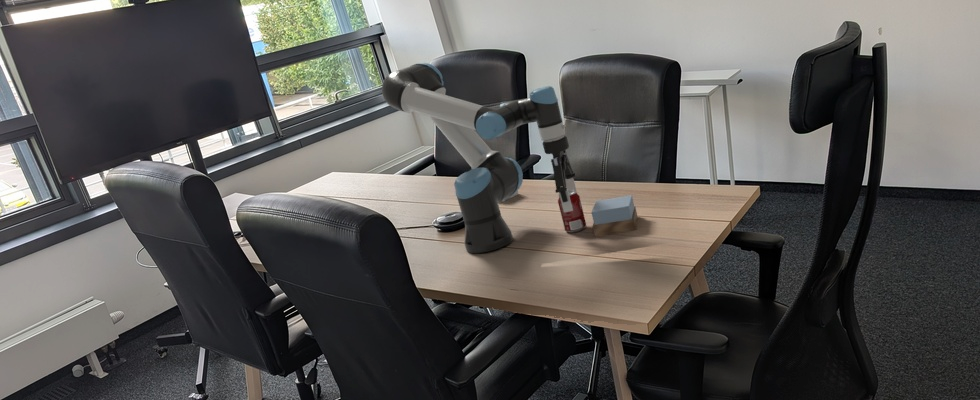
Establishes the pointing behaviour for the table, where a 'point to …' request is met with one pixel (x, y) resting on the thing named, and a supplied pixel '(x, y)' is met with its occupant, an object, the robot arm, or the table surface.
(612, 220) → the top block
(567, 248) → the table surface
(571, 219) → the soda can
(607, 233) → the base block
